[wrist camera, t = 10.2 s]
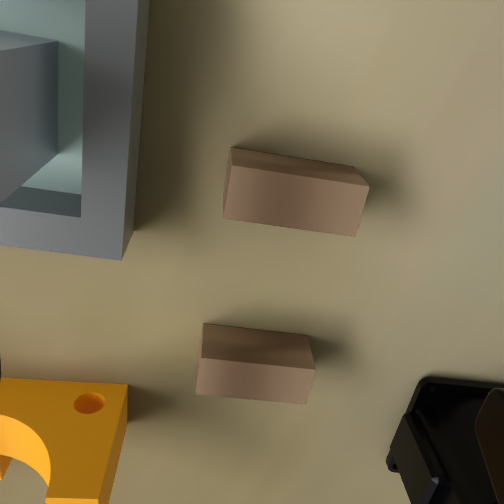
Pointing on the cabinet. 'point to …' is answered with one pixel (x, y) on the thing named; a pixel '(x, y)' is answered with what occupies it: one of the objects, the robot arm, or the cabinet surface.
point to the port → (84, 128)
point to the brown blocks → (285, 215)
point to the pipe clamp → (64, 434)
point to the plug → (26, 107)
